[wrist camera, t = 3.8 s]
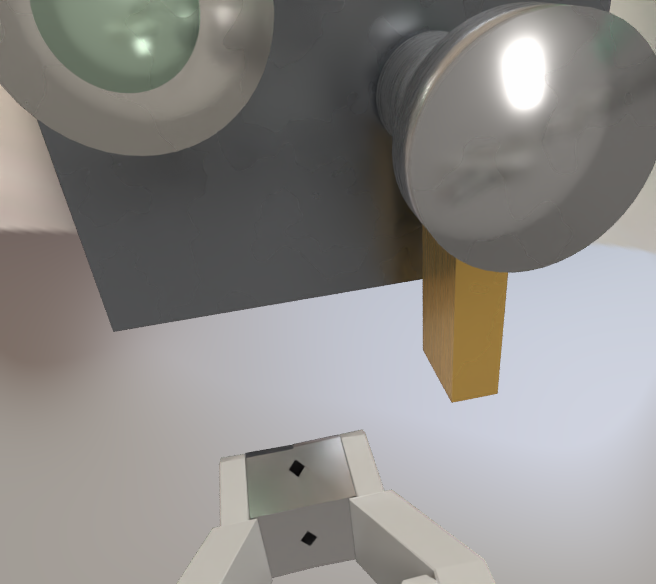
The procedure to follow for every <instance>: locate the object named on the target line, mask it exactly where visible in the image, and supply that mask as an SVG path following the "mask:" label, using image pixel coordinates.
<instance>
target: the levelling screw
mask: <svg viewBox="0 0 656 584" xmlns="http://www.w3.org/2000/svg"><path fill="white" fill-rule="evenodd" d="M376 102H377V109H378V113H379V117H380V119H381V122H382V124H383V125H384V127H385V129H386V130H387V131H388V133H389V134H390V135H391V136H392V160H393V169H394V173H395V177H396V181H397V184H398V187H399V189H400V192H401V194H402V196H403V198H404V200H405V201H406V203H407V205H408V207H409V208H410V209H411V210H412V212H413V213H414V214H415V215H416V217H417V218H418V219H419V220H420V222H421V223H422V247H423V351H424V353H425V354H426V356H427V358H428V360H429V362H430V364H431V365H432V367H433V369H434V371H435V373H436V375H437V377H438V378H439V380H440V382H441V384H442V385H443V388H444V389H445V391H446V393H447V395H448V397H449V399H450V400H451V402H458V401H463V400H468V399H473V398H478V397H483V396H488V395H493V394H497V393H498V382H499V370H500V358H501V346H502V336H503V324H504V313H505V301H506V290H507V278H508V272H523V271H529V270H534V269H538V268H543V267H546V266H549V265H551V264H554V263H557V262H559V261H561V260H564V259H566V258H568V257H570V256H572V255H574V254H576V253H577V252H579V251H581V250H582V249H584V248H586V247H587V246H588V245H590V244H591V243H592V242H594V241H595V240H597V239H598V238H599V237H600V236H602V235H603V234H604V233H605V232H606V231H607V230H608V229H609V228H611V227H612V226H613V225H614V224H615V223H616V221H617V220H618V219H619V218H620V217H621V216H622V215H623V214H624V213H625V212H626V210H627V209H628V208H629V206H630V205H631V204H632V203H633V201H634V200H635V199H636V197H637V195H638V194H639V192H640V191H641V189H642V188H643V186H644V184H645V182H646V180H647V178H648V177H649V175H650V173H651V171H652V169H653V166H654V163H655V161H656V55H655V54H654V52H653V50H652V49H651V47H650V46H649V44H648V42H647V41H646V40H645V39H644V38H643V36H642V35H641V34H640V33H639V32H638V31H637V30H636V29H635V28H634V27H632V26H631V25H630V24H629V23H627V22H626V21H625V20H623V19H621V18H619V17H617V16H615V15H613V14H611V13H609V12H606V11H603V10H600V9H596V8H593V7H585V6H576V5H566V4H555V3H545V2H534V1H532V2H515V3H510V4H505V5H500V6H497V7H494V8H492V9H489V10H486V11H483V12H481V13H479V14H477V15H475V16H473V17H471V18H470V19H468V20H466V21H465V22H463V23H462V24H460V25H459V26H457V27H456V28H454V29H453V30H452V31H451V32H447V31H428V32H423V33H421V34H418V35H415V36H413V37H412V38H410V39H408V40H407V41H405V42H404V43H402V44H401V45H400V46H399V47H398V48H397V49H396V50H395V51H394V52H393V53H392V54H391V56H390V57H389V59H388V60H387V62H386V63H385V65H384V67H383V69H382V72H381V74H380V77H379V81H378V85H377V92H376Z"/></svg>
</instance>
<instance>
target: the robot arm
mask: <svg viewBox="0 0 656 584" xmlns="http://www.w3.org/2000/svg"><path fill="white" fill-rule="evenodd" d="M219 481H220V482H219V487H220V526H219V527H215V528H212V530H211V531H210V533H209V534H208V536H207V537H206V539H205V541H204V542H203V544H202V545H201V547H200V548H199V550H198V551H197V553H196V554H195V556H194V558H193V559H192V561H191V562H190V564H189V565H188V567H187V568H186V570H185V572H184V573H183V575H182V576H181V578H180V579H179V581H178V582H177V584H271V583H272V578H274V577H278V576H282V575H286V574H290V573H294V572H297V571H302V570H306V569H310V568H313V567H319V566H324V565H328V564H334V563H339V562H344V561H349V560H354V559H356V562H357V563H358V564H359V565H360V566H361V567H362V568H363V569H364V570H365V571H366V572H367V573H368V574H369V575H370V577H371V578H372V579H373V580H374V581H375V582H376V583H377V584H496V583H495V581H494V579H493V577H492V574H491V572H490V570H489V568H488V566H487V564H486V561H485V559H483V558H482V557H480V556H479V555H478V554H476V553H475V552H474V551H473V550H471V549H470V548H468V547H467V546H466V545H465V544H463V543H462V542H461V541H459V540H458V539H457V538H455V537H454V536H453V535H451V534H450V533H448V532H447V531H446V530H444V529H443V528H442V527H441V526H439V525H438V524H437V523H435V522H434V521H433V520H431V519H430V518H429V517H427V516H426V515H425V514H423V513H422V512H420V511H419V510H418V509H417V508H415V507H414V506H413V505H411V504H410V503H409V502H407V501H406V500H405V499H403V498H402V497H401V496H399V495H398V494H397V493H395V492H394V491H393V490H387V491H384V488H383V485H382V482H381V479H380V476H379V473H378V470H377V467H376V464H375V461H374V458H373V455H372V452H371V449H370V446H369V443H368V440H367V437H366V434H365V432H364V431H363V430H358V431H354V432H348V433H344V434H340V435H334V436H329V437H324V438H320V439H315V440H310V441H306V442H301V443H296V444H293V445H288V446H283V447H277V448H271V449H266V450H260V451H254V452H249V453H246V454H240V455H234V456H228V457H223V458H221V459H220V464H219ZM313 564H314V565H313Z"/></svg>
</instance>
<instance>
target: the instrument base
mask: <svg viewBox="0 0 656 584" xmlns="http://www.w3.org/2000/svg"><path fill="white" fill-rule="evenodd" d="M532 1H534V2H545V3H555V4H566V5H576V6H585V7H593V8H596V9H600V10H603V11H606V12H609V10H610V4H611V0H0V84H1V85H2V86H3V88H4V89H5V90H6V91H7V92H8V93H9V94H10V95H11V96H12V97H13V98H14V99H15V100H16V102H18V103H19V104H20V105H21V106H22V107H23V108H24V109H26V110H27V111H28V112H29V113H30V114H31V115H32V116H34V117H35V118H36V119H37V121H38V123H39V126H40V129H41V132H42V135H43V137H44V140H45V143H46V146H47V148H48V151H49V154H50V157H51V160H52V162H53V165H54V168H55V171H56V173H57V176H58V179H59V182H60V185H61V187H62V190H63V193H64V196H65V198H66V201H67V204H68V207H69V210H70V212H71V215H72V218H73V221H74V223H75V226H76V229H77V232H78V235H79V237H80V240H81V243H82V245H83V248H84V251H85V254H86V257H87V259H88V262H89V265H90V268H91V271H92V273H93V276H94V279H95V282H96V285H97V287H98V290H99V292H100V296H101V298H102V301H103V304H104V307H105V310H106V312H107V315H108V318H109V321H110V323H111V326H112V329H113V331H114V332H115V331H121V330H127V329H133V328H138V327H144V326H149V325H156V324H162V323H167V322H173V321H179V320H185V319H191V318H196V317H202V316H208V315H214V314H220V313H226V312H232V311H238V310H244V309H249V308H255V307H261V306H267V305H273V304H279V303H285V302H290V301H296V300H302V299H308V298H314V297H320V296H326V295H332V294H338V293H343V292H349V291H355V290H361V289H366V288H372V287H379V286H384V285H390V284H396V283H402V282H408V281H414V280H420V279H423V247H422V223H421V222H420V220H419V219H418V218H417V217H416V215H415V214H414V213H413V212H412V210H411V209H410V208H409V207H408V205H407V203H406V201H405V200H404V198H403V196H402V194H401V192H400V189H399V187H398V184H397V181H396V177H395V173H394V169H393V160H392V136H391V135H390V134H389V133H388V131H387V130H386V129H385V127H384V125H383V124H382V122H381V119H380V117H379V113H378V109H377V102H376V92H377V85H378V81H379V77H380V74H381V72H382V69H383V67H384V65H385V63H386V62H387V60H388V59H389V57H390V56H391V54H392V53H393V52H394V51H395V50H396V49H397V48H398V47H399V46H400V45H401V44H402V43H404V42H405V41H407V40H408V39H410V38H412V37H413V36H415V35H418V34H421V33H423V32H428V31H447V32H451V31H452V30H453V29H454V28H456V27H457V26H459V25H460V24H462V23H463V22H465V21H466V20H468V19H470V18H471V17H473V16H475V15H477V14H479V13H481V12H483V11H486V10H489V9H492V8H494V7H497V6H500V5H505V4H510V3H515V2H532Z"/></svg>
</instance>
